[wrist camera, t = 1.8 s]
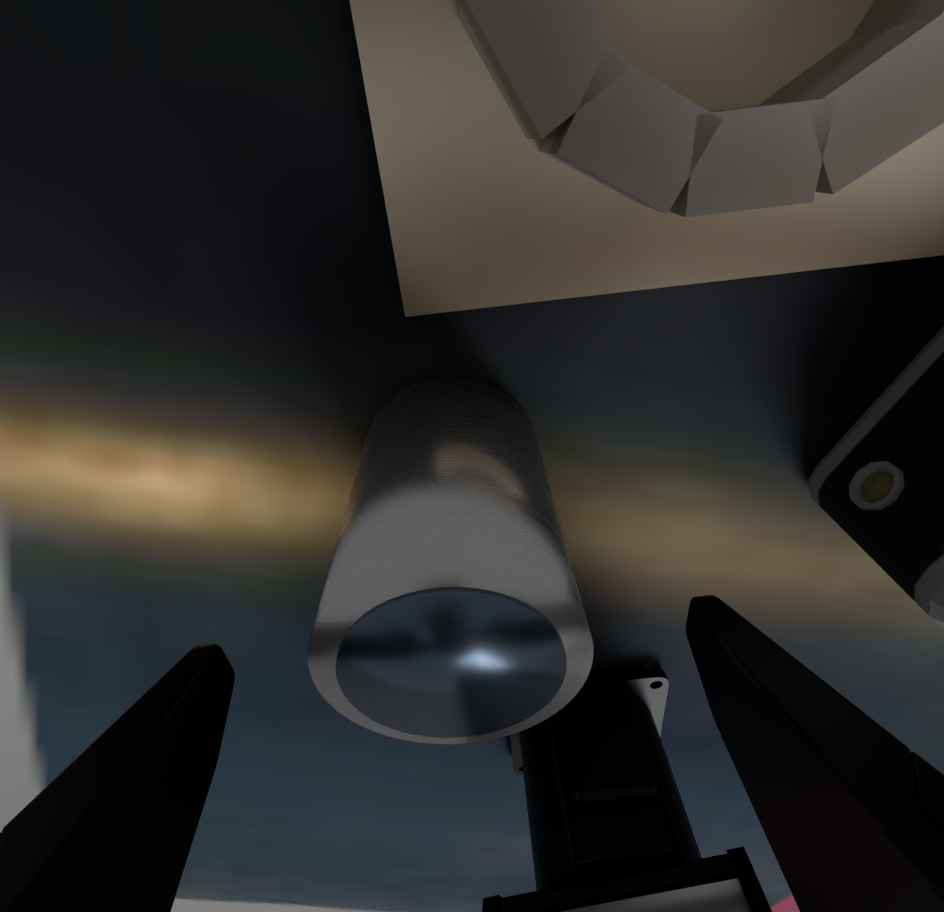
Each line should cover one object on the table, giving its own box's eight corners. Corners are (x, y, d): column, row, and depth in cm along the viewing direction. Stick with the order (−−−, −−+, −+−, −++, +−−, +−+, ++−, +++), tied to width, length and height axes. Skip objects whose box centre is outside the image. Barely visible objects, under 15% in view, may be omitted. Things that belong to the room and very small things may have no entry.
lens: (539, 513, 16) (592, 739, 10) (383, 529, 16) (344, 761, 10) (533, 366, 14) (600, 554, 7) (347, 387, 14) (264, 588, 8)
